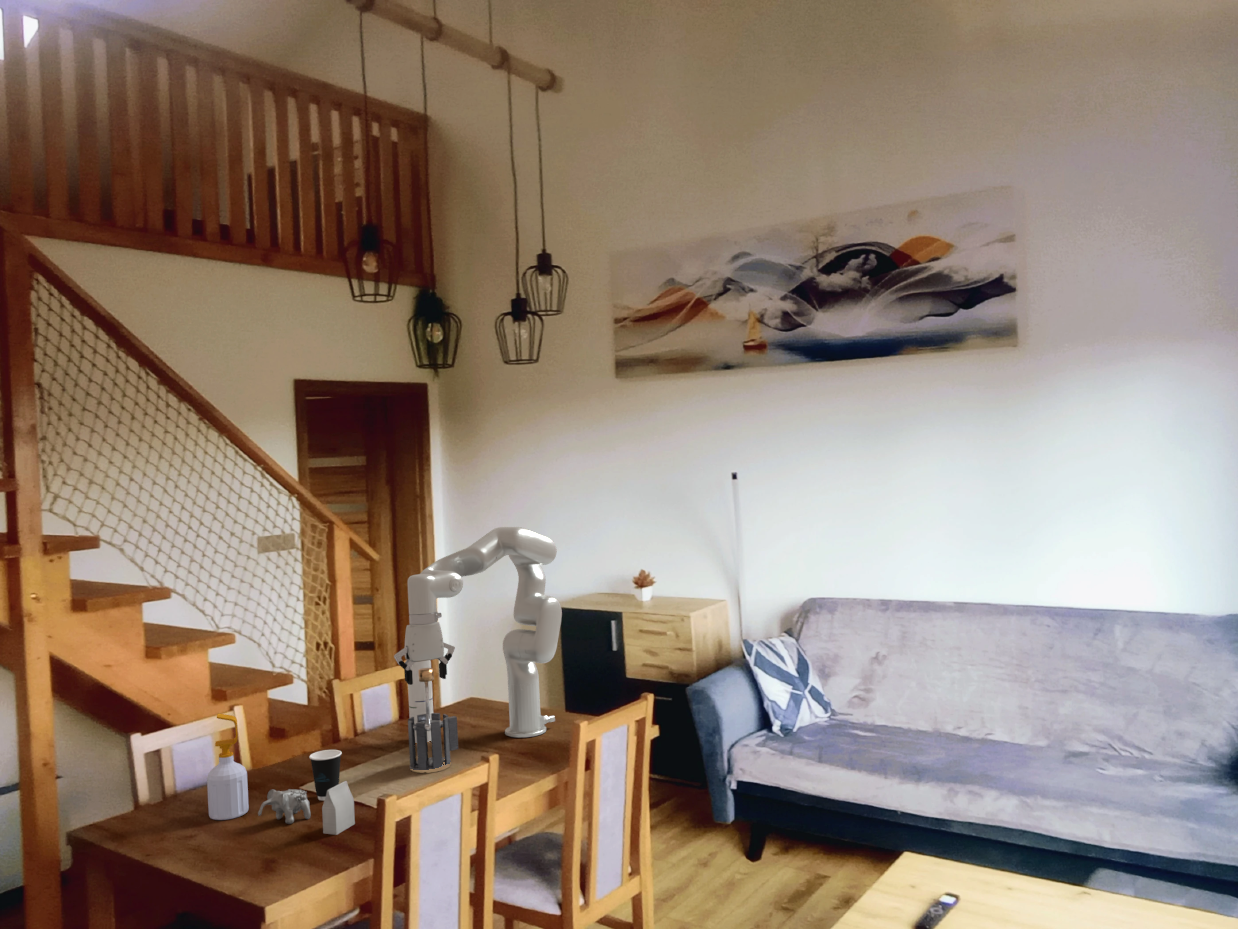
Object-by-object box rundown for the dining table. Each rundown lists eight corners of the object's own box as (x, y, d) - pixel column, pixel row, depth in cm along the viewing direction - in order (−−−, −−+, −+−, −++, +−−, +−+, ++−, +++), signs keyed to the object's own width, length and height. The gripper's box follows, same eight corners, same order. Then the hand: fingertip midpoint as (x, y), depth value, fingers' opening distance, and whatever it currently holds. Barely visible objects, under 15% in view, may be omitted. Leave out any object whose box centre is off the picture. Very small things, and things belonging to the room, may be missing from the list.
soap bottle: (209, 811, 240) (204, 712, 240) (248, 805, 244) (244, 707, 244) (208, 823, 232) (202, 721, 232) (248, 816, 235) (243, 715, 235)
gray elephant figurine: (318, 816, 234) (317, 784, 234) (281, 832, 223) (281, 798, 223) (288, 813, 238) (288, 781, 238) (251, 828, 227) (251, 795, 227)
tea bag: (354, 824, 227) (352, 781, 227) (336, 834, 221) (334, 791, 221) (341, 822, 228) (339, 780, 228) (323, 833, 222) (321, 789, 222)
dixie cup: (339, 789, 252) (337, 747, 252) (347, 798, 245) (345, 754, 245) (308, 796, 248) (306, 753, 248) (315, 805, 241) (312, 760, 241)
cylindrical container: (431, 743, 291) (427, 660, 291) (408, 744, 292) (404, 661, 292) (436, 736, 298) (432, 655, 298) (413, 737, 299) (409, 656, 299)
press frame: (450, 756, 277) (447, 709, 277) (465, 765, 268) (463, 716, 268) (404, 766, 270) (401, 717, 270) (418, 776, 260) (416, 726, 260)
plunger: (437, 721, 274) (434, 664, 274) (448, 727, 267) (445, 669, 267) (408, 726, 269) (405, 669, 269) (419, 732, 262) (416, 674, 262)
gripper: (447, 613, 276) (450, 674, 276) (388, 621, 266) (391, 683, 266) (457, 616, 269) (460, 678, 269) (397, 624, 260) (400, 688, 260)
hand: (426, 681), depth 268 cm, fingers open, 9 cm apart
